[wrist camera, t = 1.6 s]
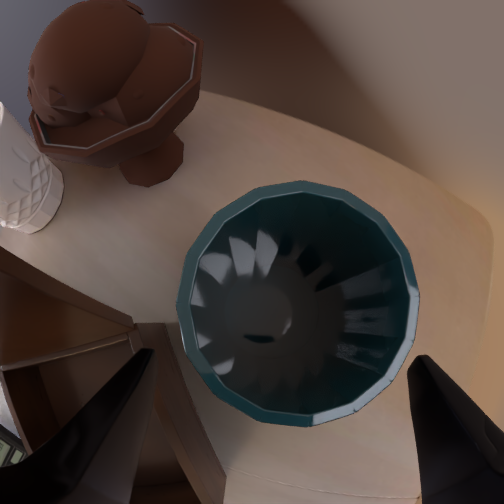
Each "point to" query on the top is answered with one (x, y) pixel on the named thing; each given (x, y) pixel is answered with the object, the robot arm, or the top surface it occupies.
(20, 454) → the calculator
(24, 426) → the brown wooden square box
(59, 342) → the lid
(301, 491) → the top surface
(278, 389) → the teal drinking tumbler
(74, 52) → the ice cream bowl
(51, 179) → the white cup
